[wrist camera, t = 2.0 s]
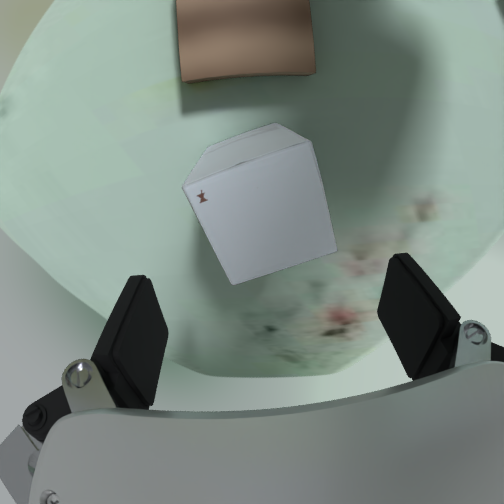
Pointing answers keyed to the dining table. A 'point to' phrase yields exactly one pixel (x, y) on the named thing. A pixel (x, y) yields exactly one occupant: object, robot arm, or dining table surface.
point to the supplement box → (261, 202)
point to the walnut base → (244, 39)
